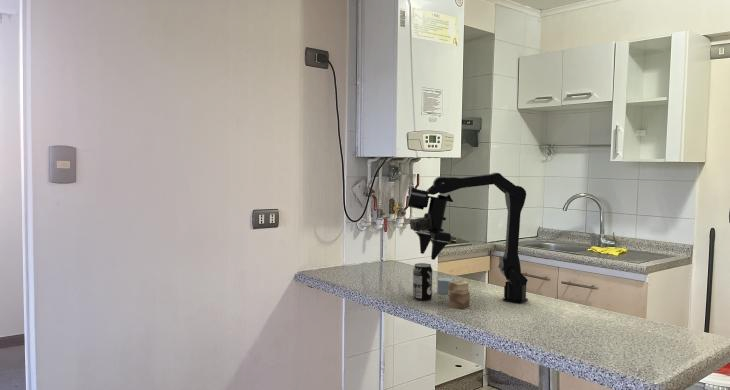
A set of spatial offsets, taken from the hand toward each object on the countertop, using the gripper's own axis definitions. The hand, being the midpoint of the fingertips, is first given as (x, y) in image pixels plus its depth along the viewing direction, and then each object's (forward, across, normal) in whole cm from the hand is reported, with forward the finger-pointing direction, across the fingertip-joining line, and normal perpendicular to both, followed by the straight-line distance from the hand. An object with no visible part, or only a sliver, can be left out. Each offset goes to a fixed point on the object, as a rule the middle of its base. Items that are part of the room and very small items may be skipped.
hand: (427, 256), depth 182 cm
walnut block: (+13, +13, +9) cm, 20 cm away
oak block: (+13, 0, +15) cm, 20 cm away
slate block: (+13, -6, +13) cm, 20 cm away
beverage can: (+15, 0, +2) cm, 15 cm away
